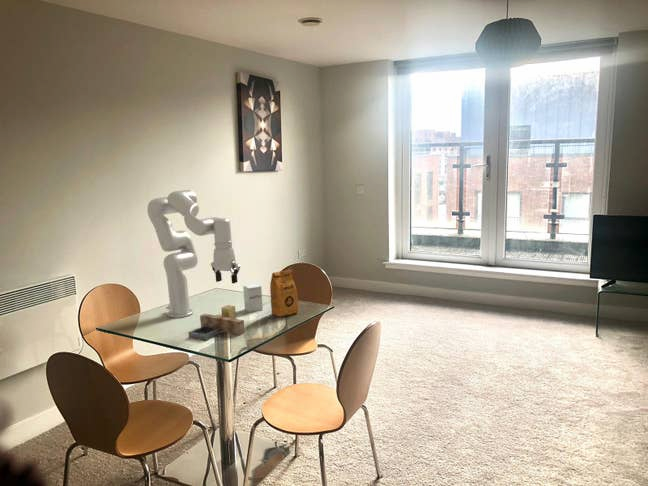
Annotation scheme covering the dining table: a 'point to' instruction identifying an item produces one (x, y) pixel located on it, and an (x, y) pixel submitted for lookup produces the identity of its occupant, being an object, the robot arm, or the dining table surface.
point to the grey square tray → (204, 333)
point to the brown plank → (223, 323)
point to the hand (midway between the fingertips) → (226, 282)
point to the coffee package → (283, 294)
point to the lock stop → (229, 311)
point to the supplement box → (253, 297)
